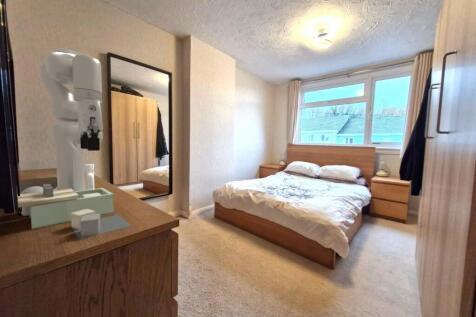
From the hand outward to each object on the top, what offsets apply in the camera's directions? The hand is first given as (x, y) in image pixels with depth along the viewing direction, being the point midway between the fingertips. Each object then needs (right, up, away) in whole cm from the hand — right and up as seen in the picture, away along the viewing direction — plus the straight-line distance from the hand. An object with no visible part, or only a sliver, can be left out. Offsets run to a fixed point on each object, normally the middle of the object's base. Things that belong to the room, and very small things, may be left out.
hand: (89, 149), depth 68 cm
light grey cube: (+11, -22, -14) cm, 29 cm away
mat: (+11, -22, -10) cm, 27 cm away
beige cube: (+6, -22, -11) cm, 25 cm away
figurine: (-8, -20, +12) cm, 25 cm away
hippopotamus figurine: (-16, -21, +1) cm, 26 cm away
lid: (-7, -15, -7) cm, 18 cm away
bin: (-4, -21, -2) cm, 22 cm away
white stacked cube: (0, -20, +1) cm, 20 cm away
